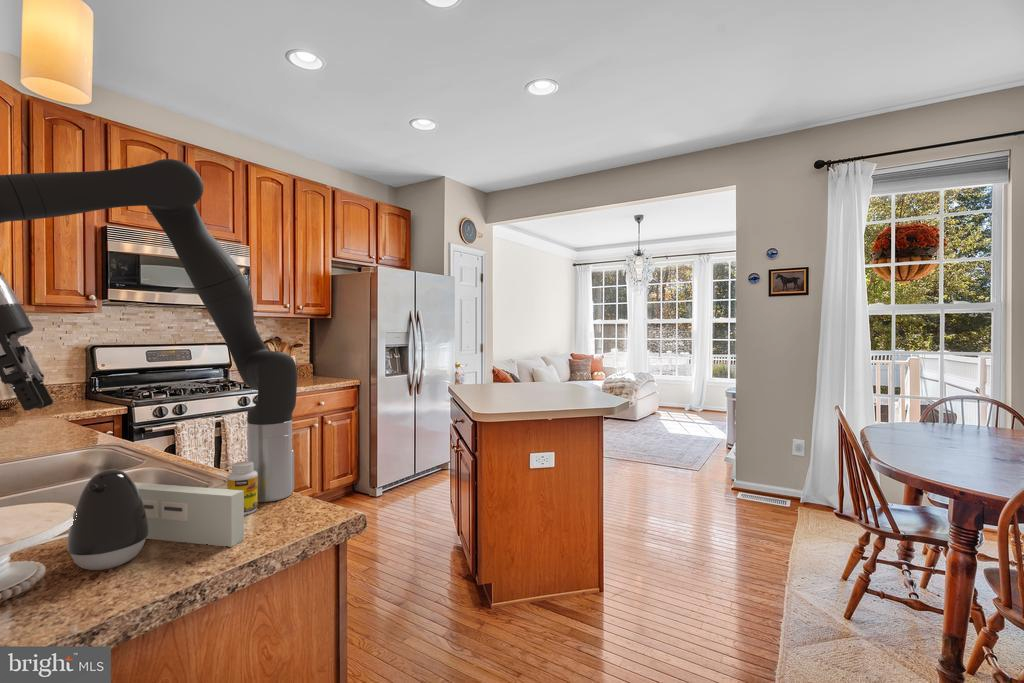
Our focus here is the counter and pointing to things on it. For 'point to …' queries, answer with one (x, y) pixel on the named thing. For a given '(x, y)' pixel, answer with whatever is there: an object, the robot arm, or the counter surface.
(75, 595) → the counter surface
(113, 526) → the dark grey egg device
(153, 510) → the rectangular box with label
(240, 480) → the supplement bottle
